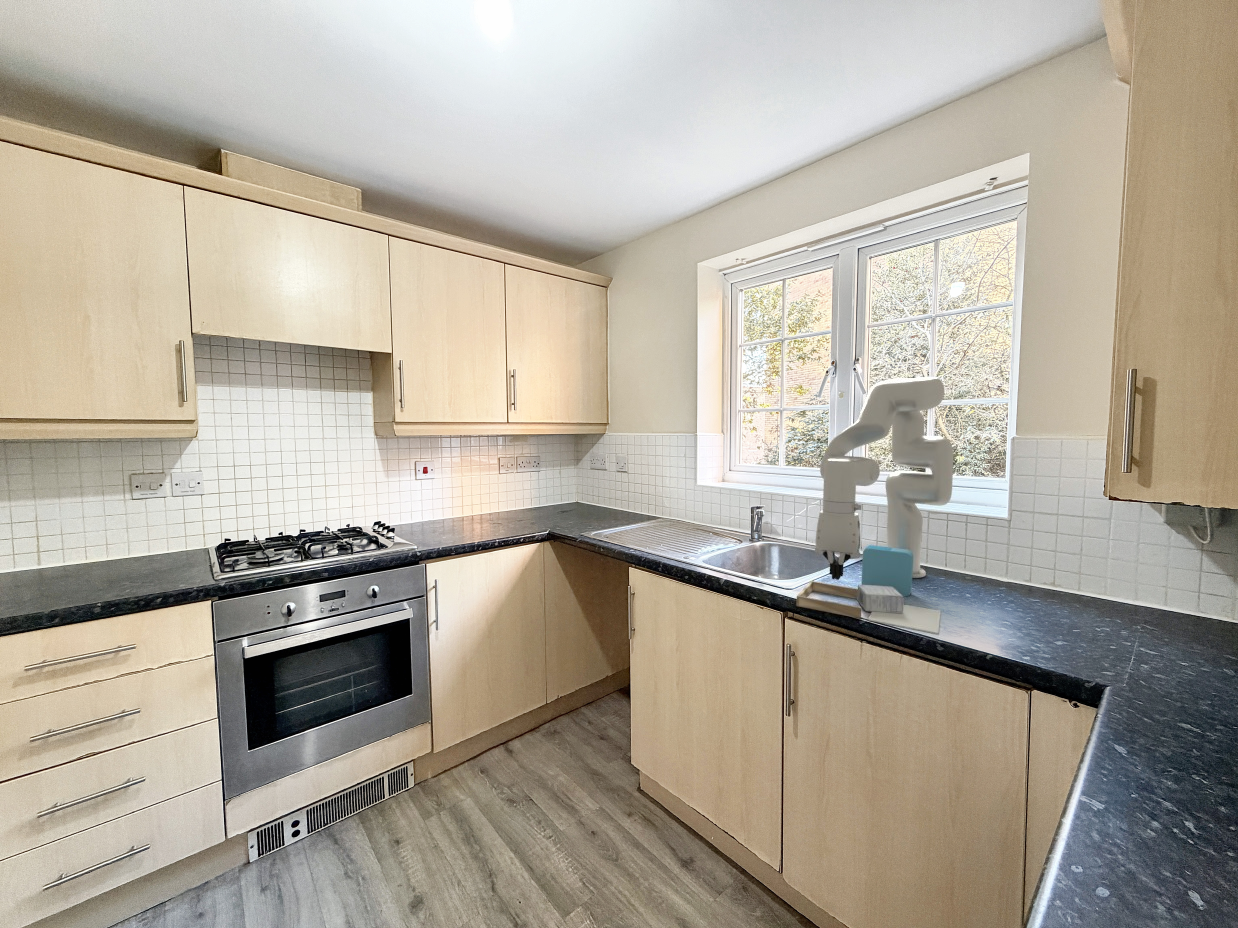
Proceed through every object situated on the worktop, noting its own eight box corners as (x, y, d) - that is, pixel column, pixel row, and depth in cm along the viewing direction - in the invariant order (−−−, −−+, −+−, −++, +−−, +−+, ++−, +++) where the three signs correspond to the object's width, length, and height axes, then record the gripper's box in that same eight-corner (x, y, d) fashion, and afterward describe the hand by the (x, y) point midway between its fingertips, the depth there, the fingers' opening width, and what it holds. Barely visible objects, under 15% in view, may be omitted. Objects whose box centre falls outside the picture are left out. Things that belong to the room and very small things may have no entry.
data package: (911, 593, 141) (913, 550, 140) (910, 598, 137) (912, 553, 136) (863, 585, 148) (865, 544, 147) (861, 589, 144) (862, 547, 143)
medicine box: (864, 611, 126) (903, 614, 125) (865, 593, 126) (904, 596, 124) (856, 600, 134) (893, 603, 132) (857, 583, 134) (894, 586, 132)
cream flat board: (877, 600, 135) (877, 599, 135) (940, 611, 127) (940, 610, 127) (868, 620, 121) (868, 619, 121) (938, 634, 114) (938, 632, 114)
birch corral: (810, 589, 143) (811, 580, 143) (869, 600, 135) (870, 590, 135) (796, 605, 131) (796, 596, 131) (860, 618, 123) (861, 608, 122)
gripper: (873, 508, 130) (870, 579, 132) (811, 502, 138) (809, 569, 140) (869, 512, 124) (865, 587, 125) (804, 506, 132) (802, 577, 133)
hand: (836, 577), depth 133 cm, fingers closed
